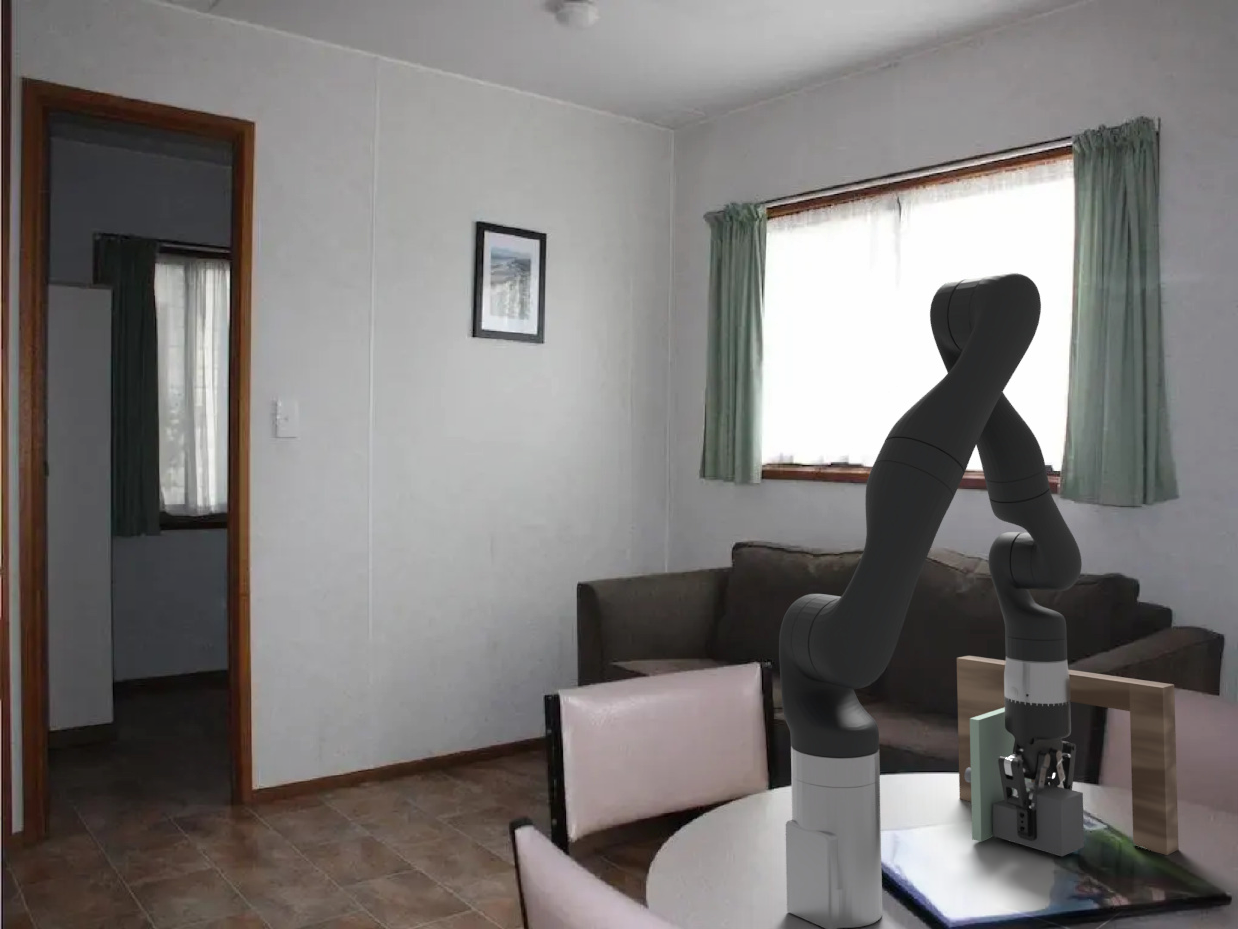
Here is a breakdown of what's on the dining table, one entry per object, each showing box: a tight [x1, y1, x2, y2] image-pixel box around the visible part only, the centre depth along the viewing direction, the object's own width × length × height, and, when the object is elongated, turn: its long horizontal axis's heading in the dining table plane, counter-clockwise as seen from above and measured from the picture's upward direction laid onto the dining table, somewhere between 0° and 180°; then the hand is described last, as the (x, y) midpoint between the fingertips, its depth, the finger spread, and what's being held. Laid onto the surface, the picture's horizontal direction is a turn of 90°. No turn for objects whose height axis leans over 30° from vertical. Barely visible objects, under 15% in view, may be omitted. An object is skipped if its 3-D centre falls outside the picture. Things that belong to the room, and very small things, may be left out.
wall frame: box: [956, 655, 1179, 856], centre depth 133 cm, size 3×28×20 cm, turn 37°
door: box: [965, 707, 1031, 843], centre depth 130 cm, size 2×14×15 cm, turn 132°
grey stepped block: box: [992, 784, 1085, 857], centre depth 124 cm, size 5×9×6 cm, turn 37°
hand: (1039, 833), depth 124 cm, fingers closed on grey stepped block, 5 cm apart
